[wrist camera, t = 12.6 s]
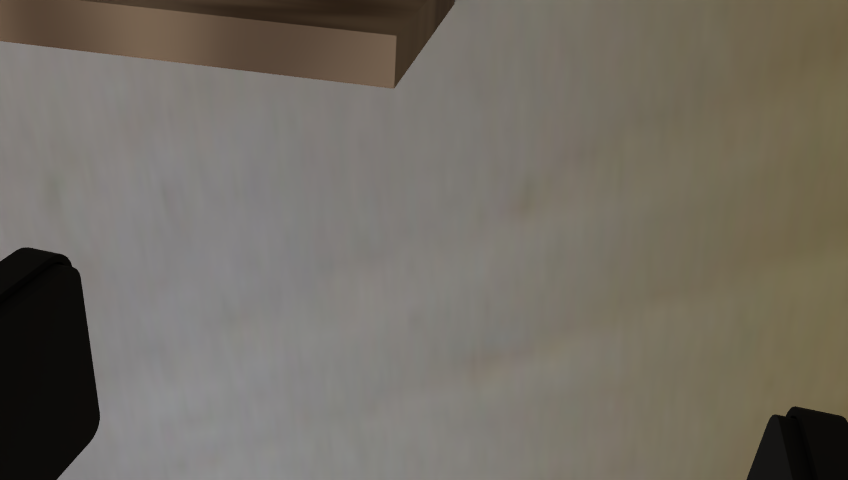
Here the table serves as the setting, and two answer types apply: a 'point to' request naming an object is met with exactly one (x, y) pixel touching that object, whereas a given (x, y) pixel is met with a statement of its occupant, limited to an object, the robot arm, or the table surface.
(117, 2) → the bracket
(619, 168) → the table surface
